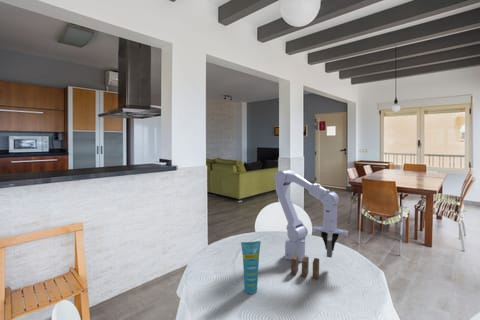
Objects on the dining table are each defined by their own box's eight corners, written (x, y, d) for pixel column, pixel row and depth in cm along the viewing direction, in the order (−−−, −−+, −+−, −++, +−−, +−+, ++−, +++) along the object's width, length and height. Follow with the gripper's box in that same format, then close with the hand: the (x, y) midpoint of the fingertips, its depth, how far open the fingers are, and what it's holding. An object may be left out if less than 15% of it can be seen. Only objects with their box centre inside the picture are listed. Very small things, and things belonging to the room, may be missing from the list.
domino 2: (301, 276, 107) (301, 260, 107) (303, 271, 112) (304, 256, 111) (306, 277, 106) (306, 261, 106) (308, 272, 111) (308, 256, 110)
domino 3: (312, 279, 105) (312, 262, 105) (314, 273, 110) (314, 257, 109) (317, 280, 104) (317, 263, 104) (319, 274, 109) (319, 258, 109)
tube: (243, 295, 94) (242, 244, 93) (240, 288, 98) (239, 239, 98) (262, 292, 95) (262, 242, 94) (258, 285, 100) (258, 238, 99)
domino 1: (291, 274, 109) (291, 258, 109) (293, 269, 114) (293, 254, 113) (295, 275, 108) (295, 259, 108) (298, 270, 113) (298, 255, 112)
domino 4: (326, 256, 112) (326, 241, 112) (327, 252, 117) (328, 237, 116) (331, 257, 111) (331, 242, 111) (332, 253, 116) (332, 238, 115)
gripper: (312, 219, 112) (311, 249, 113) (347, 223, 106) (346, 255, 107) (314, 216, 119) (314, 244, 120) (348, 219, 113) (347, 249, 113)
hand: (329, 249), depth 114 cm, fingers closed on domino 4, 2 cm apart
